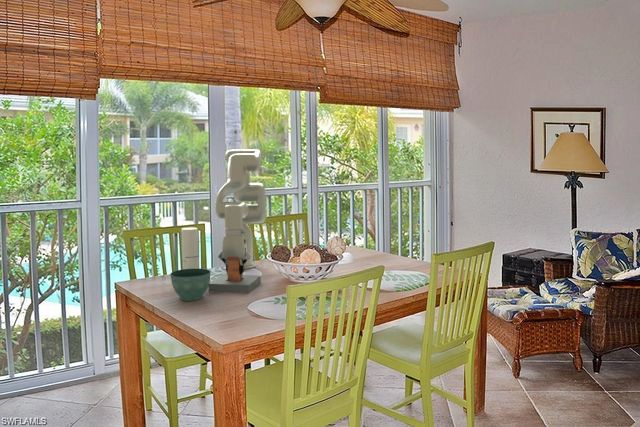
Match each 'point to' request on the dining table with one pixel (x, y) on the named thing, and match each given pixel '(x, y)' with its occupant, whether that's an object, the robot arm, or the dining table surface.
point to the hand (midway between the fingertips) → (234, 273)
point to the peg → (233, 269)
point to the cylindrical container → (190, 248)
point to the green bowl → (190, 283)
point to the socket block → (234, 284)
